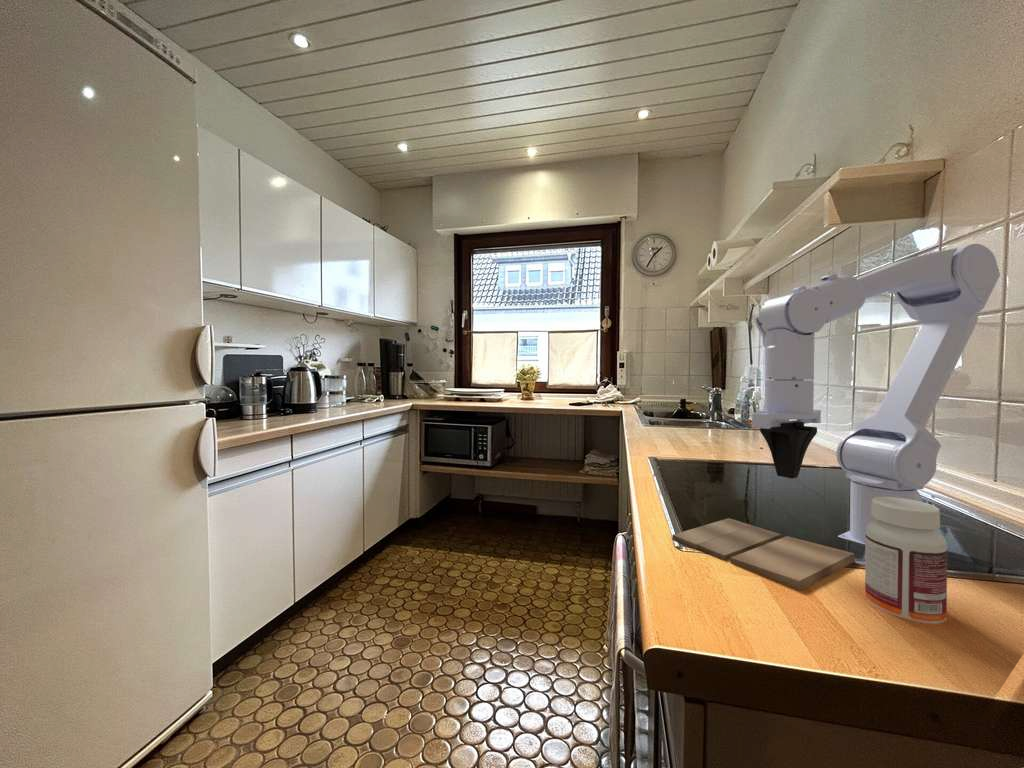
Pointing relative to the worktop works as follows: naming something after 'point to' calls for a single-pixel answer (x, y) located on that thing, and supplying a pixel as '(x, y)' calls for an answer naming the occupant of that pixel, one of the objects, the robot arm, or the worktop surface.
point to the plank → (794, 561)
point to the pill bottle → (906, 560)
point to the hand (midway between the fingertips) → (787, 476)
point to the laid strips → (726, 538)
